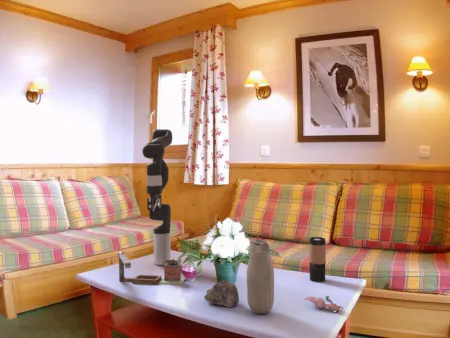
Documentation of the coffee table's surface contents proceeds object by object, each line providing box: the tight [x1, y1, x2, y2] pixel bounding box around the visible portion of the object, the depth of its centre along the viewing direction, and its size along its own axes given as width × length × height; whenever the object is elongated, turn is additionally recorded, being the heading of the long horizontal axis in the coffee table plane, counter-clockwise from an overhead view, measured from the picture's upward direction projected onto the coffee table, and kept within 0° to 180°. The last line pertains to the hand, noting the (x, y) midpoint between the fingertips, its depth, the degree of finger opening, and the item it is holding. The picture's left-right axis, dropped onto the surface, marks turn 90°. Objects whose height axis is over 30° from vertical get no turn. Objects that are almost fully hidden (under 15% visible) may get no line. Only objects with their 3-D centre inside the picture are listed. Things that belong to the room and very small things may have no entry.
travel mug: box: [308, 236, 327, 283], centre depth 195 cm, size 8×8×20 cm
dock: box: [118, 257, 163, 285], centre depth 197 cm, size 7×20×11 cm, turn 80°
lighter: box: [163, 258, 181, 281], centre depth 196 cm, size 8×3×10 cm, turn 84°
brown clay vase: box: [246, 239, 275, 315], centre depth 156 cm, size 10×10×28 cm
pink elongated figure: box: [304, 295, 344, 313], centre depth 160 cm, size 6×6×15 cm
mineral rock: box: [203, 279, 240, 308], centre depth 166 cm, size 13×11×10 cm
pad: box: [158, 276, 185, 286], centre depth 196 cm, size 9×11×1 cm
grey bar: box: [117, 251, 132, 270], centre depth 190 cm, size 3×21×3 cm, turn 23°
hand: (154, 217), depth 201 cm, fingers open, 8 cm apart
